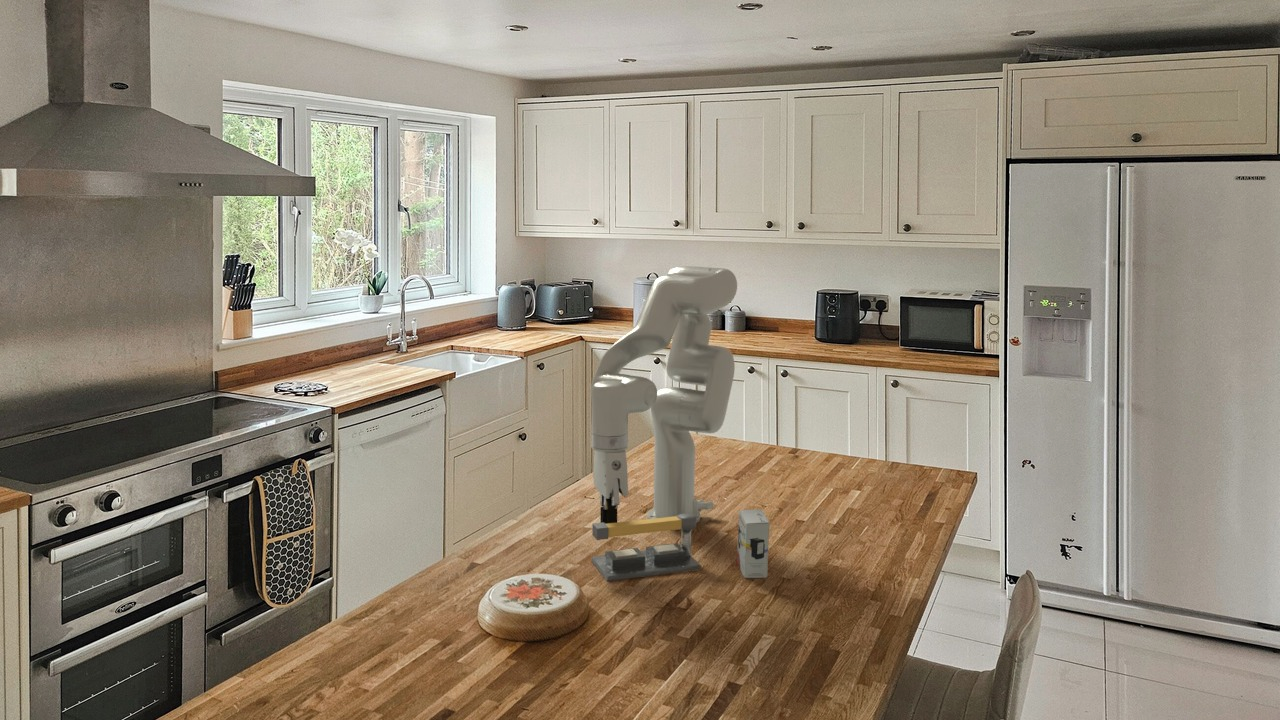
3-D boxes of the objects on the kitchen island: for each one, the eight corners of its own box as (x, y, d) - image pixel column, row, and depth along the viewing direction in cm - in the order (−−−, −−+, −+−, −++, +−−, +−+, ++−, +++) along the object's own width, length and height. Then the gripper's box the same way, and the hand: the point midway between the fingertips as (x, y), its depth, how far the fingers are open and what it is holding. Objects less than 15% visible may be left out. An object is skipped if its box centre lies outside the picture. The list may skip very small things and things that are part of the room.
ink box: (736, 562, 204) (737, 508, 202) (759, 562, 204) (761, 508, 202) (744, 578, 195) (745, 522, 193) (767, 578, 196) (770, 522, 194)
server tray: (680, 550, 210) (681, 519, 209) (700, 569, 200) (701, 536, 198) (591, 561, 203) (591, 529, 202) (607, 581, 193) (607, 547, 192)
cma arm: (691, 523, 206) (691, 512, 205) (698, 529, 202) (699, 518, 202) (591, 534, 198) (591, 522, 198) (597, 540, 195) (597, 529, 194)
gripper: (638, 448, 195) (637, 535, 198) (615, 431, 209) (615, 512, 212) (602, 451, 193) (602, 539, 196) (582, 433, 207) (581, 516, 210)
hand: (608, 525), depth 204 cm, fingers closed
